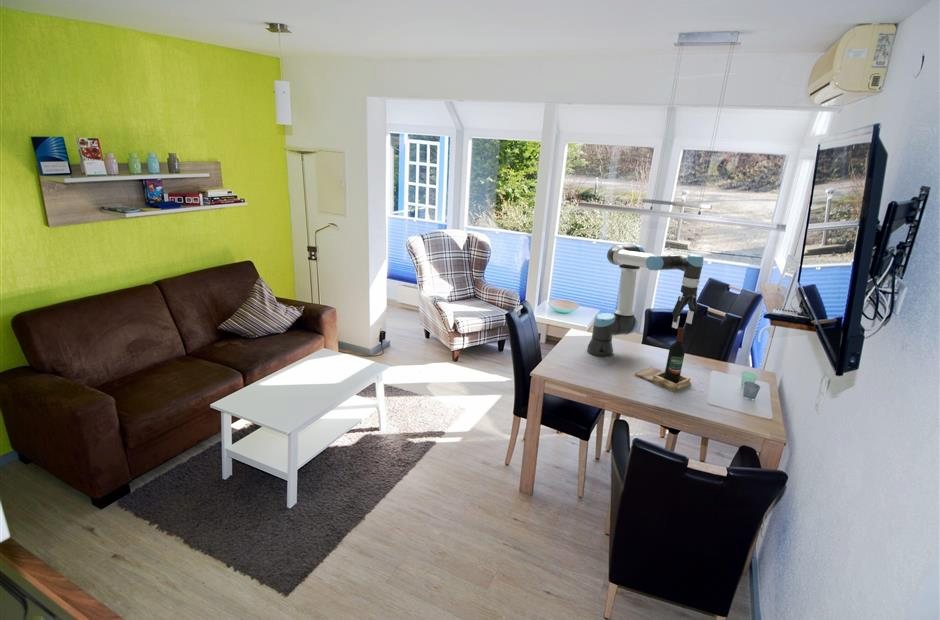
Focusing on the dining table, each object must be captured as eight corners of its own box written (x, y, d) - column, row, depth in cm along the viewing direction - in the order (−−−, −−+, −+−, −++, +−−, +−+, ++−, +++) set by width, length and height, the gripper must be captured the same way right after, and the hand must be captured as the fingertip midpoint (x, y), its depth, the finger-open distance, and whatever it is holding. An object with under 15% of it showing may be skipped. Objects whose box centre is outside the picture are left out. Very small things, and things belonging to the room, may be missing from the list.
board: (634, 374, 276) (635, 368, 275) (650, 368, 286) (652, 362, 285) (674, 392, 258) (676, 385, 257) (690, 384, 268) (692, 378, 267)
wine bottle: (676, 378, 271) (686, 326, 262) (680, 385, 264) (691, 331, 255) (661, 377, 272) (671, 325, 263) (665, 383, 265) (676, 330, 255)
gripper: (683, 291, 241) (675, 332, 248) (709, 284, 256) (700, 323, 263) (669, 287, 247) (661, 327, 254) (695, 280, 262) (687, 319, 269)
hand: (681, 325), depth 258 cm, fingers open, 13 cm apart
